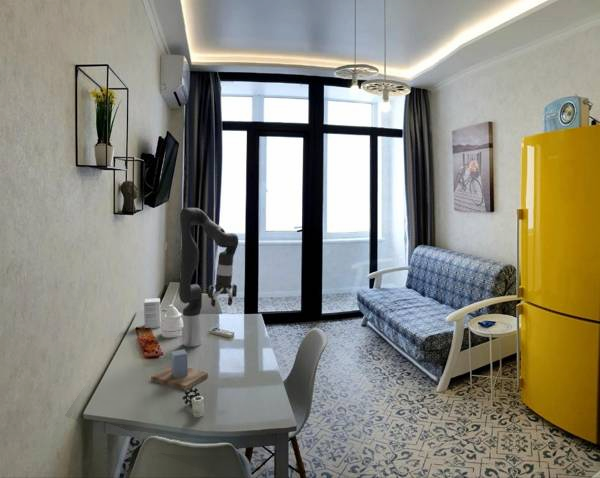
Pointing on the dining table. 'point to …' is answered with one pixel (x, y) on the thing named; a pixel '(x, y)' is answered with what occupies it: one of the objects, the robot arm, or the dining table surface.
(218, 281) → the robot arm
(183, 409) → the dining table surface
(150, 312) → the supplement box
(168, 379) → the post plate
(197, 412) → the valve
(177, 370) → the block
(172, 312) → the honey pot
